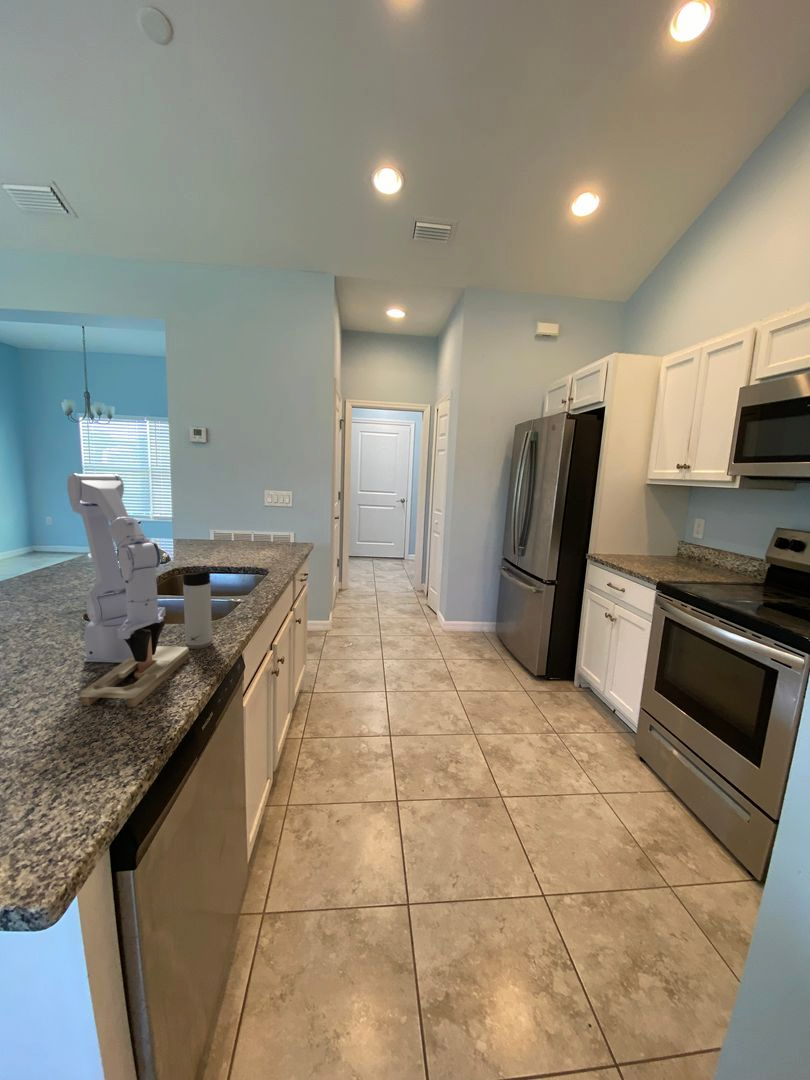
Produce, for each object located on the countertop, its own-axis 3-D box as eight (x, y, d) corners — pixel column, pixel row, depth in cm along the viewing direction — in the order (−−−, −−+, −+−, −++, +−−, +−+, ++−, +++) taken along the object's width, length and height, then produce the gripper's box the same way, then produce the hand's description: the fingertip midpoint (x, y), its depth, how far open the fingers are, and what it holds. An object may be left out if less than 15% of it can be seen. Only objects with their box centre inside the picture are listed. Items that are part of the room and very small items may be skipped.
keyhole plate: (81, 705, 83) (80, 692, 82) (147, 656, 105) (146, 645, 104) (134, 707, 83) (133, 693, 83) (188, 658, 105) (188, 647, 104)
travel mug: (195, 651, 108) (192, 574, 105) (180, 645, 112) (177, 570, 109) (218, 644, 114) (215, 570, 110) (202, 638, 117) (200, 566, 114)
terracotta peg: (129, 678, 93) (127, 635, 92) (141, 669, 98) (139, 627, 96) (150, 679, 93) (148, 635, 92) (161, 670, 98) (159, 628, 96)
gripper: (141, 609, 86) (144, 673, 88) (177, 589, 100) (180, 645, 102) (105, 608, 86) (109, 672, 88) (146, 588, 100) (149, 644, 102)
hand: (145, 657), depth 95 cm, fingers closed on terracotta peg, 3 cm apart
